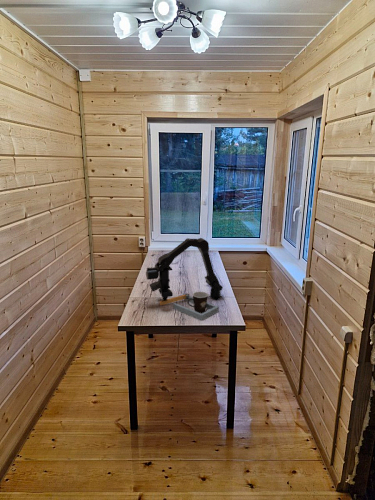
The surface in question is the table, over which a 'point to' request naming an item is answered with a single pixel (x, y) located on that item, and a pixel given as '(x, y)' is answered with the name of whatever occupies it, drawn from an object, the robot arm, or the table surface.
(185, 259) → the table surface
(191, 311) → the frame
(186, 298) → the orange bar
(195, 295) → the coffee mug
